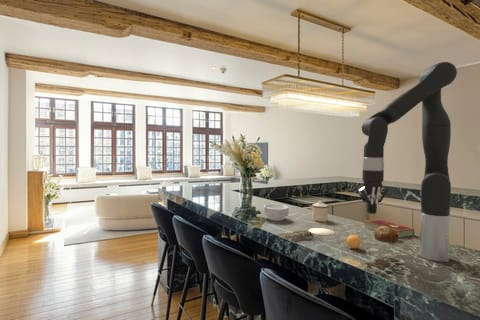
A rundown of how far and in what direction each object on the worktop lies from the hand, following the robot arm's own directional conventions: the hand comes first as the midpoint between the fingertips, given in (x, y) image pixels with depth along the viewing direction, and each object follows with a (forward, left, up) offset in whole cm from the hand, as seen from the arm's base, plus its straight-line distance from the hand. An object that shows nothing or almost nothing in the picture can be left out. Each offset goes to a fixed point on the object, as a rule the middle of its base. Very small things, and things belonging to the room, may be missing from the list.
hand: (371, 213), depth 111 cm
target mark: (+27, -22, -17) cm, 39 cm away
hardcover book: (0, -46, -18) cm, 49 cm away
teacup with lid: (+38, -48, -17) cm, 63 cm away
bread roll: (-2, -30, -17) cm, 34 cm away
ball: (+8, -6, -14) cm, 17 cm away
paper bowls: (+59, -33, -17) cm, 69 cm away
